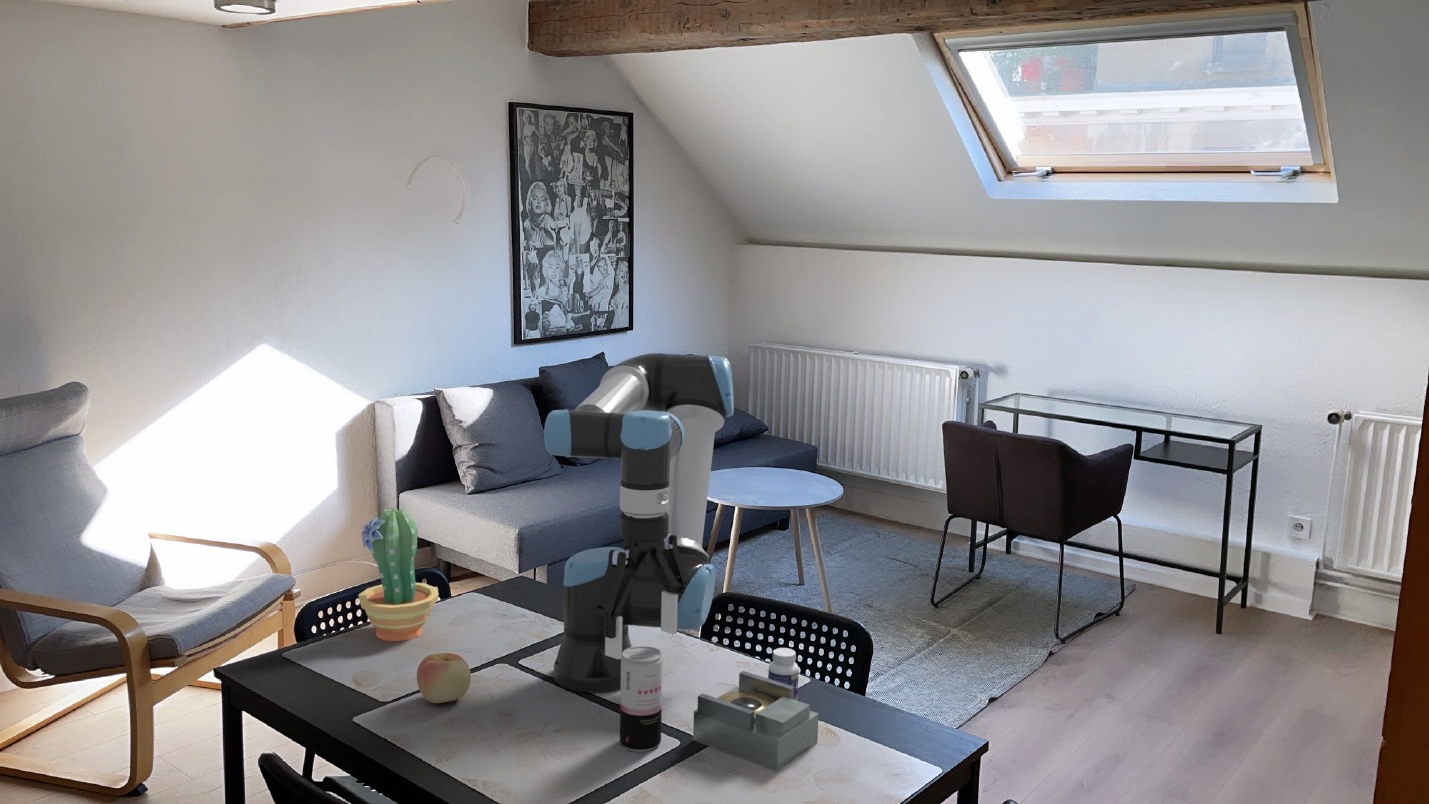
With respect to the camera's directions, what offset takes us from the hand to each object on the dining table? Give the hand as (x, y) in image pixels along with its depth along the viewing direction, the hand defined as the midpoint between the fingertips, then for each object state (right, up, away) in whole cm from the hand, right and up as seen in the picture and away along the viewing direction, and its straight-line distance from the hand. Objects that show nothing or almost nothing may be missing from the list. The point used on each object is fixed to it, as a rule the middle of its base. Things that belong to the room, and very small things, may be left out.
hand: (641, 644), depth 173 cm
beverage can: (-1, -17, +3) cm, 17 cm away
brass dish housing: (+18, -17, +4) cm, 25 cm away
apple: (-35, -13, +16) cm, 41 cm away
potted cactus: (-51, -8, +46) cm, 70 cm away
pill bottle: (+23, -14, +20) cm, 34 cm away
